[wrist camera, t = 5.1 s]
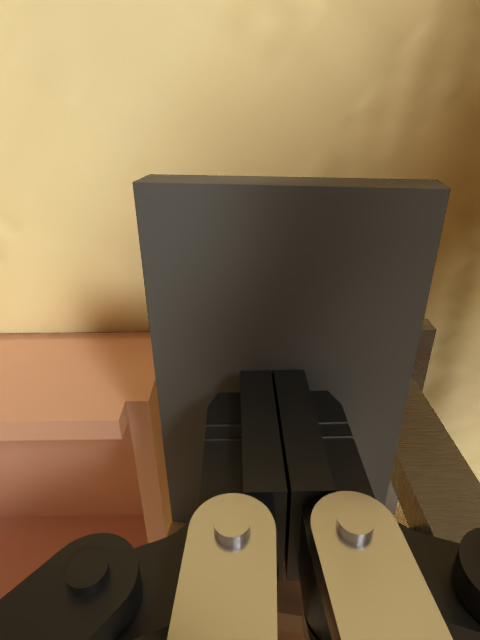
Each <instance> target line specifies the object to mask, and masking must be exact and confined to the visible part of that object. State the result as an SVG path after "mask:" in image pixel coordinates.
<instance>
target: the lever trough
mask: <svg viewBox="0 0 480 640" xmlns="http://www.w3.org/2000/svg"><path fill="white" fill-rule="evenodd" d="M133 190H134V199H135V207H136V216H137V224H138V233H139V242H140V250H141V259H142V267H143V276H144V284H145V293H146V301H147V310H148V319H149V327H150V336H151V344H152V353H153V361H154V370H155V378H156V387H157V396H158V404H159V413H160V421H161V430H162V438H163V447H164V456H165V464H166V473H167V481H168V490H169V498H170V507H171V515H172V523H171V526H170V529H169V532H168V534H167V537H168V536H170V535H171V534H173V533H175V532H177V531H178V530H179V529H181V528H182V527H183V526H184V525H185V524H186V523H187V522H188V521H189V520H190V519H191V517H192V516H193V514H194V513H195V511H196V509H197V506H198V503H199V498H200V488H201V476H202V465H203V453H204V442H205V430H206V418H207V407H208V406H209V404H210V403H211V401H212V400H213V399H214V397H215V396H216V394H217V393H226V392H240V371H252V370H271V375H272V371H273V370H299V369H304V371H305V374H306V378H307V382H308V386H309V389H310V391H325V390H328V391H329V392H330V393H331V394H332V395H333V396H334V397H335V398H336V399H337V400H338V401H339V402H340V403H341V404H342V407H343V410H344V412H345V415H346V418H347V421H348V424H349V426H350V429H351V432H352V435H353V439H354V440H355V443H356V446H357V449H358V452H359V454H360V457H361V460H362V463H363V466H364V468H365V471H366V474H367V477H368V480H369V482H370V485H371V488H372V491H373V494H374V496H375V498H376V500H378V501H379V502H380V503H382V504H383V505H384V506H385V502H386V497H387V492H388V488H389V483H390V478H391V473H392V468H393V463H394V459H395V454H396V449H397V444H398V439H399V434H400V430H401V425H402V420H403V415H404V410H405V406H406V401H407V396H408V391H409V386H410V381H411V377H412V372H413V367H414V362H415V357H416V353H417V348H418V343H419V338H420V333H421V328H422V324H423V319H424V314H425V309H426V304H427V299H428V295H429V290H430V285H431V280H432V275H433V271H434V266H435V261H436V256H437V251H438V246H439V242H440V237H441V232H442V227H443V222H444V217H445V213H446V208H447V203H448V198H449V193H450V189H449V188H448V187H447V186H445V185H444V184H443V183H441V182H440V181H438V180H420V179H367V178H314V177H261V176H208V175H155V174H150V175H148V176H145V177H143V178H141V179H139V180H136V181H134V182H133ZM302 613H303V600H302V592H301V585H300V581H287V580H286V571H285V562H284V574H283V581H281V582H278V604H277V639H278V640H305V639H304V634H303V629H302Z"/></svg>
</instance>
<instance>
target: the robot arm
mask: <svg viewBox="0 0 480 640" xmlns="http://www.w3.org/2000/svg"><path fill="white" fill-rule="evenodd" d="M284 562H285V571H286V580H287V581H300V585H301V592H302V600H303V613H302V629H303V634H304V639H305V640H480V527H479V528H475V529H473V530H471V531H469V532H468V533H466V534H465V535H464V537H463V538H462V540H461V542H460V543H456V542H453V541H449V540H445V539H441V538H438V537H434V536H430V535H426V534H423V533H420V532H417V531H414V530H412V529H410V528H407V527H405V526H404V525H402V524H400V523H399V522H397V521H396V519H395V517H394V516H393V514H392V513H391V512H390V511H389V510H388V509H387V508H386V507H385V506H384V505H383V504H382V503H380V502H379V501H378V500H376V498H375V496H374V494H373V491H372V488H371V485H370V482H369V480H368V477H367V474H366V471H365V468H364V466H363V463H362V460H361V457H360V454H359V452H358V449H357V446H356V443H355V440H354V439H353V435H352V432H351V429H350V426H349V424H348V421H347V418H346V415H345V412H344V410H343V407H342V404H341V403H340V402H339V401H338V400H337V399H336V398H335V397H334V396H333V395H332V394H331V393H330V392H329V391H328V390H325V391H310V389H309V386H308V382H307V378H306V374H305V371H304V369H299V370H273V371H272V375H271V370H252V371H240V392H226V393H217V394H216V396H215V397H214V399H213V400H212V401H211V403H210V404H209V406H208V407H207V418H206V430H205V442H204V453H203V465H202V476H201V488H200V498H199V503H198V506H197V509H196V511H195V513H194V514H193V516H192V517H191V519H190V520H189V521H188V522H187V523H186V524H185V525H184V526H183V527H182V528H181V529H179V530H178V531H177V532H175V533H173V534H171V535H170V536H168V537H165V538H163V539H160V540H157V541H154V542H151V543H148V544H145V545H142V546H139V547H136V548H133V546H132V545H131V544H130V543H129V542H128V541H127V540H126V539H124V538H123V537H121V536H118V535H116V534H111V533H94V534H90V535H86V536H83V537H81V538H78V539H76V540H74V541H72V542H71V543H69V544H67V545H66V546H65V547H63V548H62V549H61V550H59V551H58V552H57V553H56V554H55V555H53V556H52V557H51V558H50V559H49V560H47V561H46V562H45V563H44V564H42V565H41V566H40V567H39V568H38V569H36V570H35V571H34V572H33V573H32V574H30V575H29V576H28V577H27V578H25V579H24V580H23V581H22V582H21V583H19V584H18V585H17V586H16V587H14V588H13V589H12V590H11V591H10V592H8V593H7V594H6V595H5V596H4V597H2V598H1V599H0V640H278V639H277V604H278V582H281V581H283V574H284Z"/></svg>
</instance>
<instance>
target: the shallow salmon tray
mask: <svg viewBox="0 0 480 640" xmlns="http://www.w3.org/2000/svg"><path fill="white" fill-rule="evenodd" d="M171 523H172V515H171V507H170V498H169V490H168V481H167V473H166V464H165V456H164V447H163V438H162V430H161V421H160V413H159V404H158V396H157V387H156V378H155V370H154V361H153V353H152V344H151V336H150V332H86V333H0V599H1V598H2V597H4V596H5V595H6V594H7V593H8V592H10V591H11V590H12V589H13V588H14V587H16V586H17V585H18V584H19V583H21V582H22V581H23V580H24V579H25V578H27V577H28V576H29V575H30V574H32V573H33V572H34V571H35V570H36V569H38V568H39V567H40V566H41V565H42V564H44V563H45V562H46V561H47V560H49V559H50V558H51V557H52V556H53V555H55V554H56V553H57V552H58V551H59V550H61V549H62V548H63V547H65V546H66V545H67V544H69V543H71V542H72V541H74V540H76V539H78V538H81V537H83V536H86V535H90V534H94V533H111V534H116V535H118V536H121V537H123V538H124V539H126V540H127V541H128V542H129V543H130V544H131V545H132V546H133V548H136V547H139V546H142V545H145V544H148V543H151V542H154V541H157V540H160V539H163V538H165V537H167V534H168V532H169V529H170V526H171Z"/></svg>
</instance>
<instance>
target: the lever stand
mask: <svg viewBox="0 0 480 640" xmlns="http://www.w3.org/2000/svg"><path fill="white" fill-rule="evenodd" d="M435 333H436V329H435V327H434V326H433V325H432V324H431V323H430V322H429V321H428V319H423V324H422V328H421V333H420V338H419V343H418V348H417V353H416V357H415V362H414V367H413V372H412V377H411V381H410V386H409V391H408V396H407V401H406V406H405V410H404V415H403V420H402V425H401V430H400V434H399V439H398V444H397V449H396V454H395V459H394V463H393V468H392V473H391V478H390V483H389V488H388V492H387V497H386V502H385V507H386V508H387V509H388V510H389V511H390V512H391V513H392V514H393V516H394V515H395V510H396V506H397V501H399V503H400V505H401V508H402V510H403V513H404V515H405V518H406V520H407V523H408V525H409V528H410V529H412V530H414V531H417V532H420V533H423V534H426V535H430V536H434V537H438V538H441V539H445V540H449V541H453V542H456V543H460V542H461V540H462V538H463V537H464V535H465V534H466V533H468V532H469V531H471V530H473V529H475V528H479V527H480V482H479V481H478V479H477V478H476V476H475V475H474V473H473V471H472V470H471V468H470V467H469V465H468V463H467V462H466V460H465V459H464V457H463V456H462V454H461V452H460V451H459V449H458V448H457V446H456V445H455V443H454V441H453V440H452V438H451V437H450V435H449V434H448V432H447V430H446V429H445V427H444V426H443V424H442V423H441V421H440V419H439V418H438V416H437V415H436V413H435V412H434V410H433V408H432V407H431V405H430V404H429V402H428V400H427V399H426V397H425V396H424V394H423V393H422V390H423V386H424V381H425V377H426V373H427V368H428V364H429V359H430V355H431V350H432V346H433V341H434V337H435Z"/></svg>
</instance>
